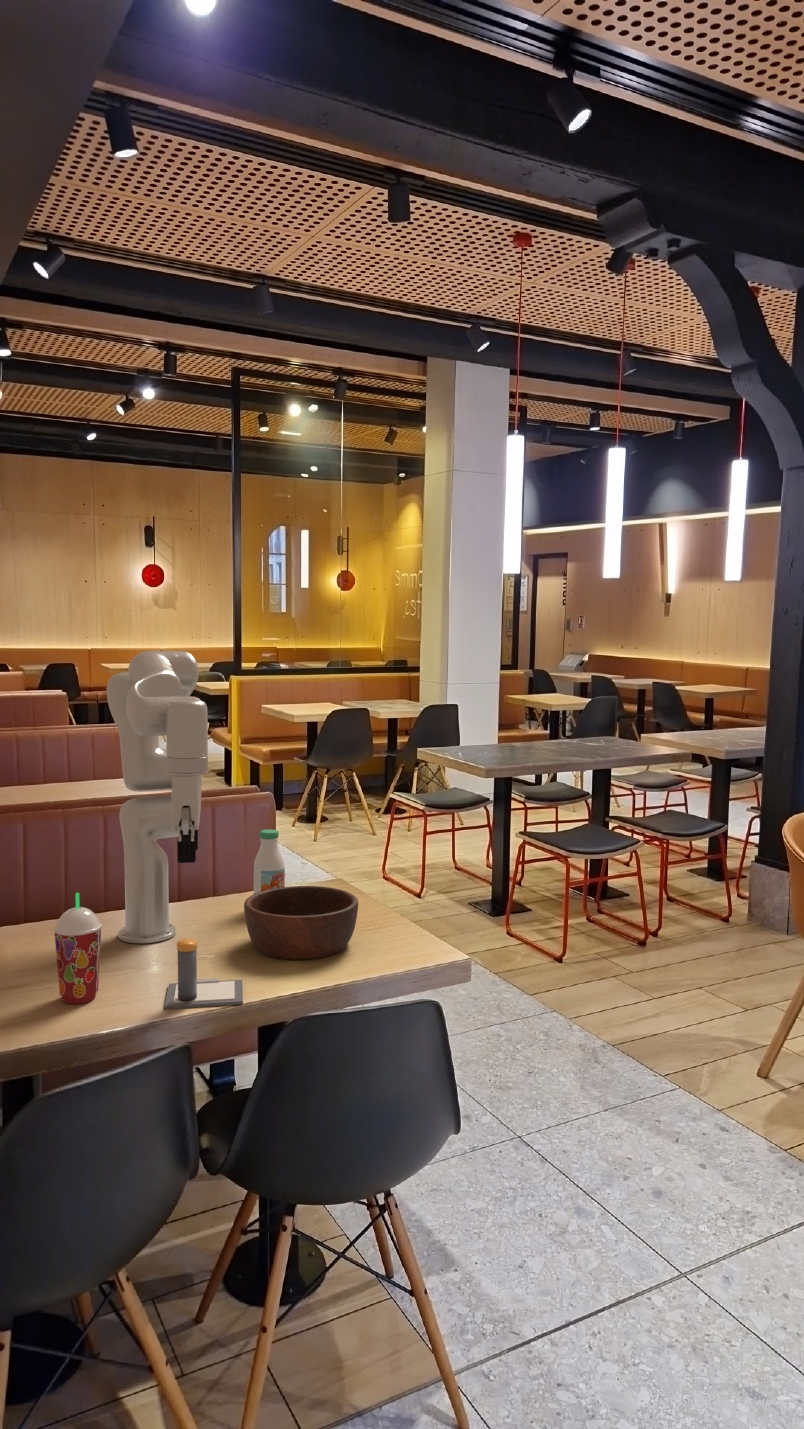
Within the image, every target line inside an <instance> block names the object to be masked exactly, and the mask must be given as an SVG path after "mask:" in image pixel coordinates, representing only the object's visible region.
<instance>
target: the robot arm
mask: <svg viewBox="0 0 804 1429" xmlns="http://www.w3.org/2000/svg"><path fill="white" fill-rule="evenodd" d="M198 679H199V666H198V662H197V660H196V658H195V657H194V655H192V653H190V652H188V651H184V650H147V651H142V652H139V653H137V654H135V655H134V656H133V657H132V659H130V662H129V665H128V671H123V672H119V673H115V674H113V675H112V676H111V677H110V678H109V679H108V681H107V684H106V699H107V704H108V708H109V711H110V714H111V716H112V718H113V721H114V723H115V726H116V728H117V732H118V734H119V745H120V756H121V757H120V758H121V771H122V778H123V782H124V785H125V787H126V789H127V790H129V791H132V792H135V793H137V792H138V793H141V792H142V793H144V792H147V793H148V792H159V791H160V792H161V791H163V792H164V791H171V794H170V795H152V796H141V797H135V798H134V797H133V798H131V799H128V800H127V801H125V802H124V803H123V804H122V805H121V807H120V810H119V816H118V817H119V824H120V829H121V830H120V831H121V837H122V843H123V856H124V857H123V860H124V864H123V865H124V902H125V904H124V905H125V906H124V907H125V909H124V911H125V912H124V918H125V920H124V921H125V922H124V924H125V926H123V927H122V928H121V929H119V930H118V932H117V937H118V939H119V940H121V941H122V942H124V943H125V942H126V943H129V944H153V943H158V942H163V941H167V940H168V939H171V938H173V937H174V936H175V935H176V933H177V928H176V926H175V925H174V924H171V923H170V915H169V912H170V911H169V909H170V907H169V906H170V903H169V902H170V901H169V898H170V896H169V895H170V894H169V858H168V855H167V852H166V851H165V850H164V848H162V847H161V846H160V844H158V842H157V840H160V839H166V838H167V839H168V838H178V840H177V863H179V864H187V863H192V864H193V863H195V862H196V861H197V860H196V858H197V857H196V854H197V852H196V851H198V848H199V836H198V835H199V832H198V831H199V827H200V821H201V820H200V819H201V810H202V809H201V808H202V776H204V775H208V773H209V763H208V762H209V755H208V754H209V745H208V743H209V741H208V738H209V735H208V732H209V730H208V729H209V726H208V719H209V718H208V717H209V716H208V715H209V714H208V706H207V703H206V702H205V701H204V700H203V701H202V700H201V699H200V698H198V697H196V696H191V694H192V693H193V692H194V690H195V688H196V686H197V683H198ZM161 736H162V737H164V736H166V737H165V738H166V739H165V740H166V744H165V745H166V748H161V747H160V742H159V737H161Z"/></svg>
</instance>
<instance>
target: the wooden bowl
mask: <svg viewBox="0 0 804 1429" xmlns="http://www.w3.org/2000/svg"><path fill="white" fill-rule="evenodd" d="M243 910H244V911H243V912H244V918H245V923H246V924H245V925H246V929H247V934H248V936H249V938H250V941H251V943H252V944H253V946H254V948H256V950H257V951H258V952H260V953H261V954H263V955H266V956H267V957H271V958H274V959H275V958H276V959H281V960H293V961H302V960H304V961H305V960H314V959H322V958H326V957H330V956H333V955H336V954H338V953H339V952H341V951H342V950H344V949H345V948H346V947H347V946H348V944H349V942H350V941H351V939H352V937H353V934H354V932H355V927H356V923H357V919H358V918H357V917H358V913H359V912H358V911H359V900H358V897H357V896H356V895H354V894H353V893H351V892H349V891H346V890H343V889H339V888H335V887H334V888H333V887H329V886H321V885H320V886H318V885H294V886H293V885H292V886H285V887H280V888H274V889H269V890H265V891H261V892H258V893H256V894H254V893H252V895H249V897H247V898H246V899H245V901H244V904H243Z"/></svg>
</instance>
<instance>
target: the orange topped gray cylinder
mask: <svg viewBox="0 0 804 1429" xmlns="http://www.w3.org/2000/svg"><path fill="white" fill-rule="evenodd" d="M197 949H198V940H196V939H193V938H184V939H180V940H178V941H177V942H176V950H177V983H178V1000H179V1001H182V1002H189V1001H193V1000H195V999H196V998H197V979H198V978H197V976H198V975H197V971H198V968H197V965H198V964H197V962H198V961H197V953H198V952H197Z"/></svg>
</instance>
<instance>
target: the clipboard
mask: <svg viewBox="0 0 804 1429" xmlns="http://www.w3.org/2000/svg"><path fill="white" fill-rule="evenodd" d="M243 987H244V986H243V979H232V980H231V979H228V980H220V978H219V977H217V978H216V977H215V978H214V977H213V978H199V979H198V978H197V998H196V999H195V1000H193V1001H189V1002H182V1001H179V1000H178V982H175V983H174V982H173V983H172V982H171V983H168V987H167V992H166V995H165V996H166V997H165V1001H164V1010H172V1009H183V1008H184V1009H186V1008H187V1009H189V1008H202V1007H203V1008H206V1007H220V1006H223V1007H224V1006H236V1005H244V1001H243V1000H244V993H243V990H244V988H243Z"/></svg>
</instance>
